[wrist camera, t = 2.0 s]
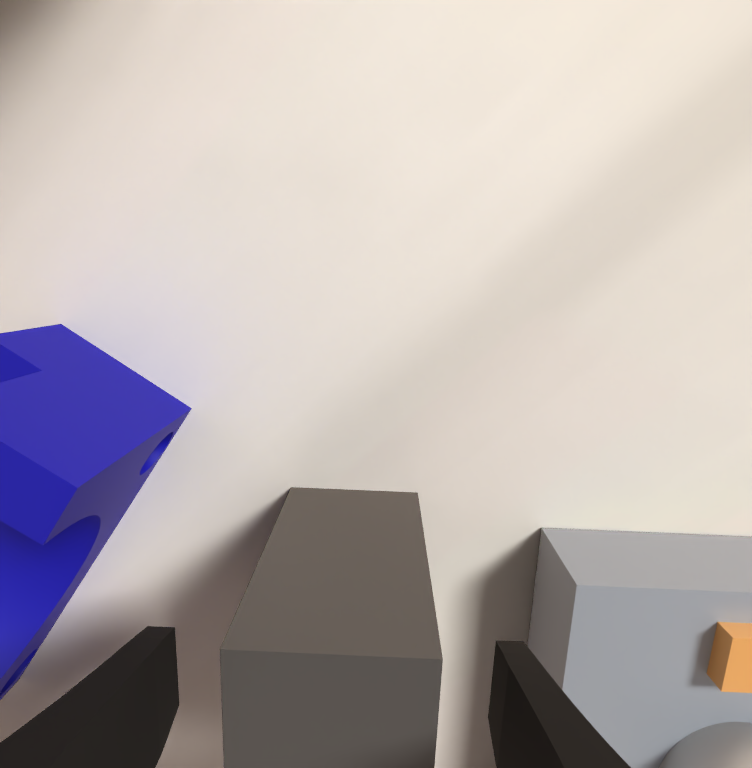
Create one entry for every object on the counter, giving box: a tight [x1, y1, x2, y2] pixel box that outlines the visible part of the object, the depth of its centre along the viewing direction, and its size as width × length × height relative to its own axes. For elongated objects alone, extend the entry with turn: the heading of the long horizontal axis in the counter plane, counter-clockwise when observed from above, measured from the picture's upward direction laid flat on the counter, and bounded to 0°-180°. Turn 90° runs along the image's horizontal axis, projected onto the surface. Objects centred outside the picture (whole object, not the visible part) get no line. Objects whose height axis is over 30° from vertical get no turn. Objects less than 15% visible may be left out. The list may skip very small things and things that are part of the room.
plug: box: [220, 487, 443, 768], centre depth 13 cm, size 4×4×7 cm
